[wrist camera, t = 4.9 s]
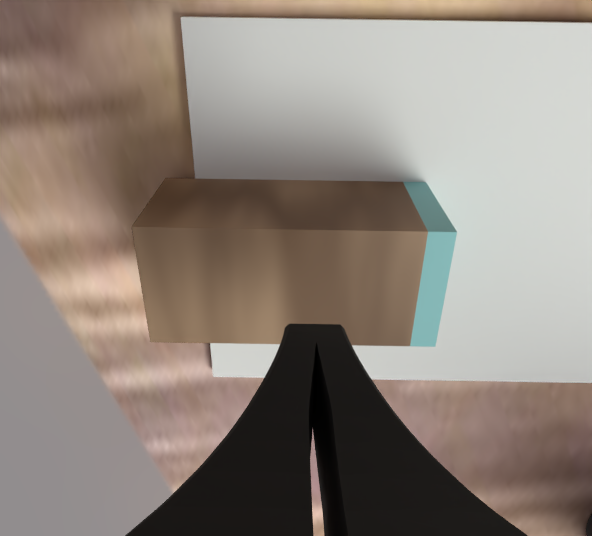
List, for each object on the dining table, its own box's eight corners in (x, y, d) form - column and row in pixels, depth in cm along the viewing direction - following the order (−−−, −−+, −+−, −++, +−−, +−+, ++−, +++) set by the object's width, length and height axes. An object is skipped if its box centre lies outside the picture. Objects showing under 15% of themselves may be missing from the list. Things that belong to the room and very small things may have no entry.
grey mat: (777, 25, 15) (788, 25, 15) (622, 377, 22) (627, 383, 22) (183, 16, 15) (180, 17, 15) (214, 370, 22) (213, 376, 22)
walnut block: (457, 232, 14) (131, 227, 14) (435, 346, 16) (150, 342, 16) (425, 182, 17) (165, 178, 17) (411, 281, 19) (177, 277, 19)
